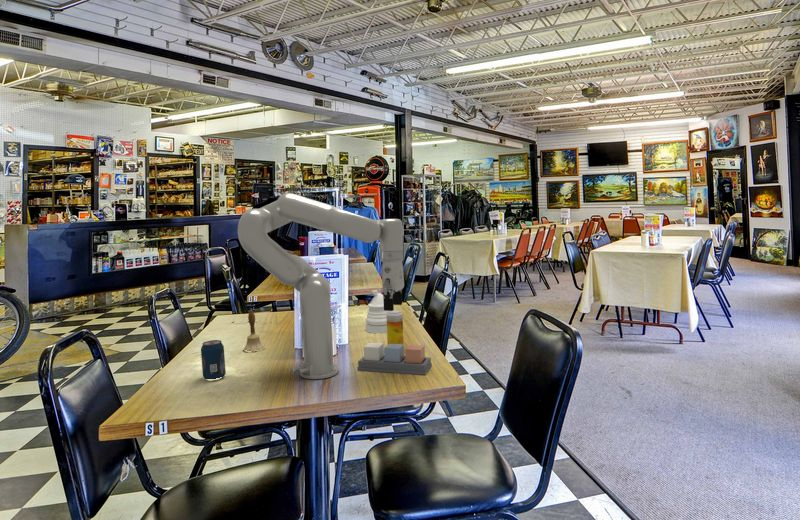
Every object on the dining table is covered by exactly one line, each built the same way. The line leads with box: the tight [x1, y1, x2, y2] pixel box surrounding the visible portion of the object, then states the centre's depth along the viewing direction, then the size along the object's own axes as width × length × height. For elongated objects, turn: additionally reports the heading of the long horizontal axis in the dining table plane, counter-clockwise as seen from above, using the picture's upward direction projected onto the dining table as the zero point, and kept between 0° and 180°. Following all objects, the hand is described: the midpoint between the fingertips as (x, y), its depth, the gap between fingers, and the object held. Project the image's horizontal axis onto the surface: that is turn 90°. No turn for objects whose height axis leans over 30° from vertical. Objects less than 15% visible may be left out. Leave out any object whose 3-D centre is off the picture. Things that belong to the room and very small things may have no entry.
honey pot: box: [365, 289, 388, 334], centre depth 208 cm, size 13×13×18 cm
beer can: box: [386, 309, 405, 345], centre depth 175 cm, size 6×6×15 cm
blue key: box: [384, 344, 405, 362], centre depth 155 cm, size 5×5×4 cm
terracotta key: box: [404, 344, 426, 364], centre depth 153 cm, size 5×5×4 cm
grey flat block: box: [357, 355, 433, 376], centre depth 155 cm, size 23×9×3 cm, turn 73°
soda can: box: [200, 339, 227, 380], centre depth 151 cm, size 7×7×12 cm
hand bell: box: [243, 309, 265, 351], centre depth 183 cm, size 8×8×16 cm
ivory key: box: [363, 342, 385, 361], centre depth 157 cm, size 5×5×4 cm
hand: (393, 307), depth 155 cm, fingers open, 9 cm apart
